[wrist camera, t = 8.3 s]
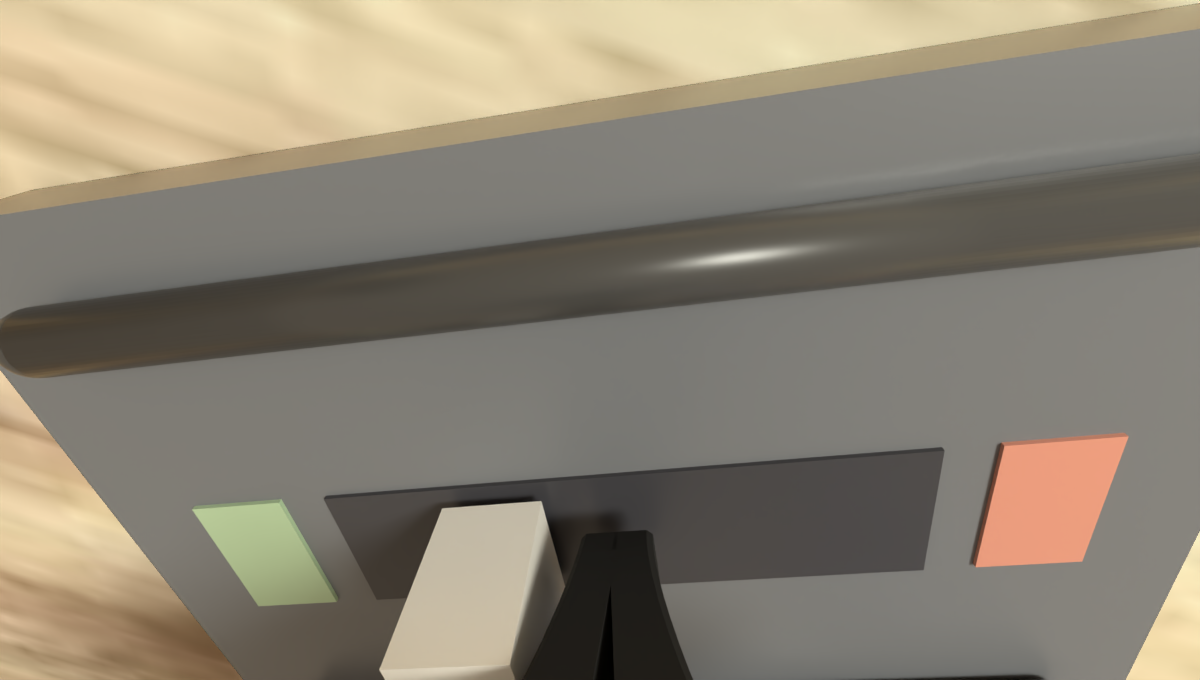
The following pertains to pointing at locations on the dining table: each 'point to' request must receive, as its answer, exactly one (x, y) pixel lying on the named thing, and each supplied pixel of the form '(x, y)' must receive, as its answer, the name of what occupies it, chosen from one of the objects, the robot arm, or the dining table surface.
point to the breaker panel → (668, 358)
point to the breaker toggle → (478, 597)
